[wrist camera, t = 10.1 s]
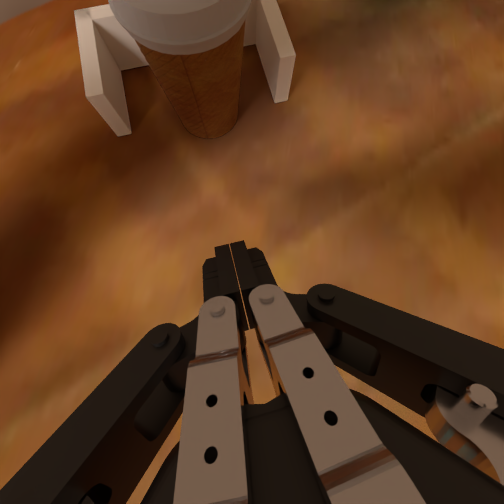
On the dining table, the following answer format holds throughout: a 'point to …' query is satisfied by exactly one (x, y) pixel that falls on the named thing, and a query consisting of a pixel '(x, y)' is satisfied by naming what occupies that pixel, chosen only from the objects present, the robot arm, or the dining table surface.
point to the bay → (129, 56)
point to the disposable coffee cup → (192, 55)
